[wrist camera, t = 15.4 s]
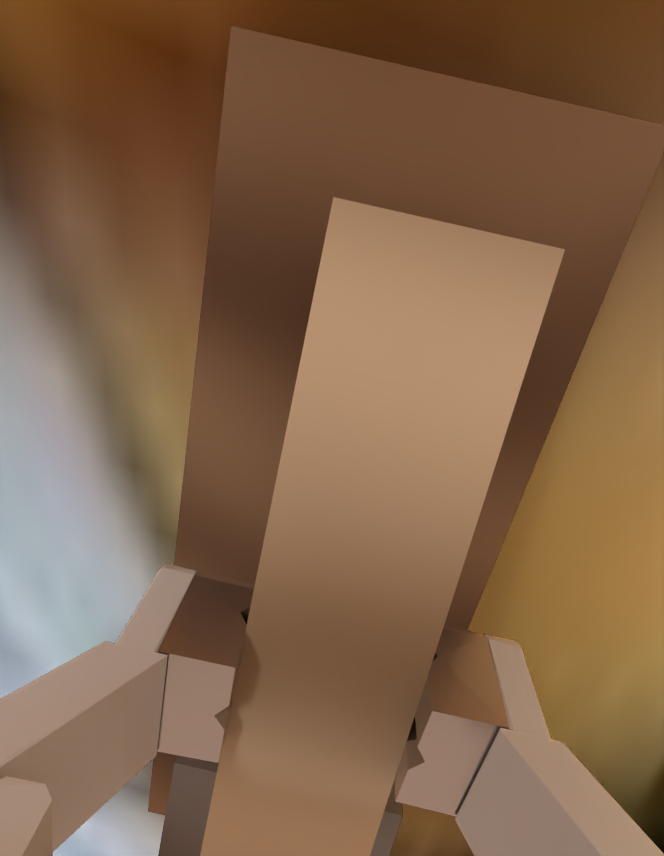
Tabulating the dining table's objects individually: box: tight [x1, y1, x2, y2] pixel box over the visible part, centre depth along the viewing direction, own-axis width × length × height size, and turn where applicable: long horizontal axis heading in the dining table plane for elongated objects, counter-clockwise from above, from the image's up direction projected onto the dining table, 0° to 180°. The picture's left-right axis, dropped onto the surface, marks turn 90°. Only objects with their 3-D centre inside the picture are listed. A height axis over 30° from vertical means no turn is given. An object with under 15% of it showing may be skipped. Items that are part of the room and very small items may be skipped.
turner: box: [158, 197, 565, 856], centre depth 9 cm, size 16×4×3 cm, turn 168°
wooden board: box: [148, 26, 664, 815], centre depth 13 cm, size 20×7×1 cm, turn 168°
